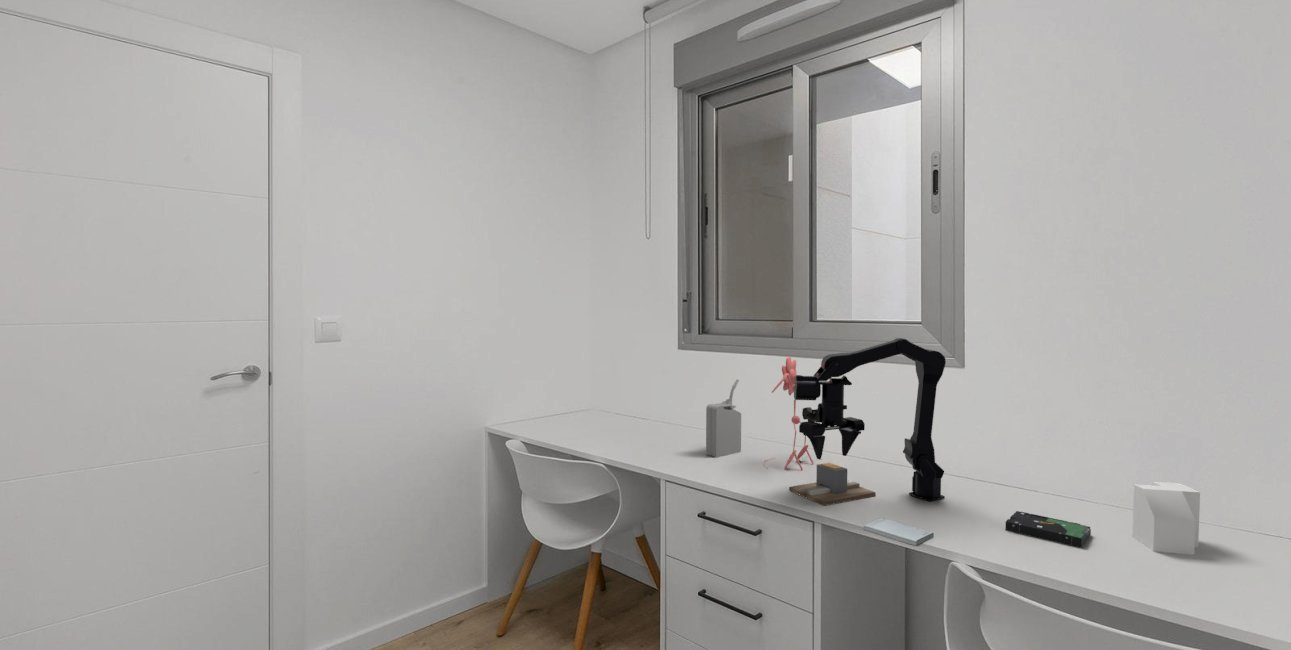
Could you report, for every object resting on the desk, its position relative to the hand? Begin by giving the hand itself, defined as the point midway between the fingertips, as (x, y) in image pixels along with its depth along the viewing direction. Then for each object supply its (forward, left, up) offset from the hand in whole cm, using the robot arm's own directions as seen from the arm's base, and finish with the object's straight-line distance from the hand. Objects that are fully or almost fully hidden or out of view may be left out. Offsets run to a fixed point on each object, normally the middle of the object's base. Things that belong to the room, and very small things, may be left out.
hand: (831, 457), depth 167 cm
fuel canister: (+50, +1, -10) cm, 51 cm away
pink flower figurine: (+29, -9, -10) cm, 32 cm away
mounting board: (0, 0, -10) cm, 10 cm away
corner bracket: (-59, -41, -10) cm, 72 cm away
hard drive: (-29, +7, -11) cm, 31 cm away
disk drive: (-44, -24, -11) cm, 51 cm away
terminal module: (0, 0, -9) cm, 9 cm away
